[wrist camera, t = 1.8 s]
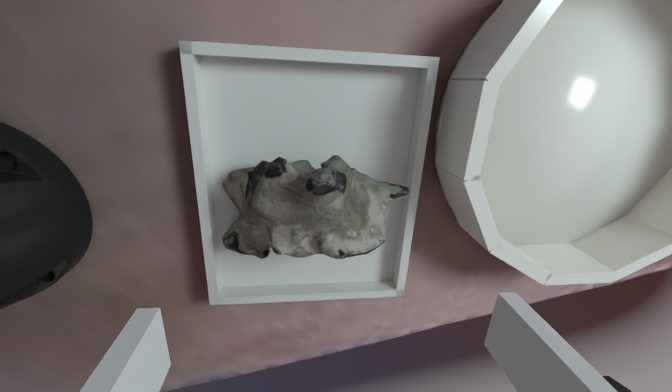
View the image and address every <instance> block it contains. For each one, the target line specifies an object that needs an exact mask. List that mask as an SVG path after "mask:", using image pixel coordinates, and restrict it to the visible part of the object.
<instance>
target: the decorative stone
mask: <svg viewBox="0 0 672 392" xmlns="http://www.w3.org/2000/svg"><path fill="white" fill-rule="evenodd" d="M321 167H322V168H318V169H315V168H314V167H312V166H311V163H310V162H309V161H308V160H299V161H296V162H293V163H290V162H288V161H287V160H286V159H284V158H282V157H278V158H277V159H275V160H274V161H272V162H268V161H265V160H264V161H261V162H260V163H259V164H258V165H257V166H255V167H250V168H243V169H237V170H234V171H232V172H230V174H229V175H228V177H227V178H226V180H225V181H223V183H222V187H223V189H224V190H225V192H226V193H227V195H228V196H229V197H230V199H231V200H232V202H233V203H234V204H235V206H236V207H237V209H238V212H239V215H238V217H237V219H236V220H235V221H234V222H233V224H232V225H231V226H230V227H229V228H228V230H227V231H226V232H225V234H224V235H223V237H222V241H223V244H224V246H225V248H226V249H229V250H231V251H235V252H238V253H240V254H244V255H254V256H256V257H258V258H260V259H264V258H266V257H267V256H268V255H269V252H270V248H271V247H272V250H273V252H274V253H276V254H279V255H282V254H285V255H289V256H292V257H297V258H303V257H308V256H311V255H314V254H324V255H327V256H329V257H331V258H334V259H345V258H347V257H354V256H358V255H365V254H369V253H370V252H372V251H373V250H375V249H376V248H378V247H379V246H380V245H382V244H383V243H385V239H384V233H385V224H386V219H385V212H386V209H387V207H388V205H389V204H390V202H391V201H393V200H394V199H396V198H398V197H401V196H404V195H407V194H409V193H410V189H409V187H405V186H402V185H397V184H391V183H386V182H381V181H376V180H374V179H372V178H370V177H369V176H368V175H366V174H363V173H360V172H359V171H358V170H357V169H356V168H350V166H349V165H348V164H347V163H346V162H345V161H344V160H343V159H342V158H341V157H340V156H338V155H333V156H331V157H330V158H329V159H328V160H327V161H325V162H323V163H321Z"/></svg>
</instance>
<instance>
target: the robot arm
mask: <svg viewBox="0 0 672 392" xmlns="http://www.w3.org/2000/svg"><path fill="white" fill-rule="evenodd" d="M91 235H92V215H91V210H90V206H89V203H88V200H87V197H86V195H85V193H84V191H83V189H82V187H81V185H80V184H79V182H78V181H77V179H76V177H75V176H74V175H73V173H72V172H71V171H70V170H69V169H68V167H67V166H66V165H65V164H64V163H63V162H62V161H61V160H60V159H59V158H58V157H57V156H56V155H55V154H54V153H53V152H51V151H50V150H49V149H48V148H46V147H45V146H44V145H42V144H41V143H39V142H38V141H37V140H35V139H33V138H32V137H30V136H28V135H27V134H25V133H23V132H21V131H19V130H17V129H15V128H13V127H11V126H9V125H6V124H4V123H1V122H0V309H2V308H4V307H6V306H9V305H11V304H14V303H16V302H19V301H21V300H23V299H26V298H28V297H31V296H33V295H35V294H37V293H39V292H41V291H43V290H45V289H47V288H48V287H50V286H51V285H53V284H54V283H56V282H57V281H58V280H59V279H60V278H62V277H63V276H64V275H65V274H66V273H67V272H69V271H70V270H71V269H72V268H73V267H74V266H75V265H76V264H77V263H78V262H79V261H80V260H81V259H82V257H83V256H84V254H85V252H86V250H87V249H88V246H89V243H90V240H91ZM484 345H485V346H486V348H487V349H488V350H489V352H490V353H491V355H492V356H493V357H494V359H495V360H496V362H497V363H498V364H499V366H500V367H501V369H502V370H503V371H504V373H505V374H506V376H507V377H508V379H509V380H510V381H511V383H512V384H513V385H514V387H515V388H516V390H517V391H518V392H631V391H630V390H628V389H627V388H626V387H624V386H623V385H621V384H620V383H618V382H617V381H615V380H614V379H612V378H611V377H609V376H601V375H600V374H599V373H598V372H597V371H596V370H595V369H594V368H593V367H592V366H591V365H590V364H589V363H588V362H587V361H585V359H584V358H583V357H582V356H580V355H579V354H578V353H577V352H576V351H575V350H574V349H573V348H572V347H571V346H570V345H569V344H568V343H567V342H566V341H565V340H564V339H563V338H562V337H561V336H560V335H559V334H558V333H557V332H556V331H555V330H554V329H553V328H552V327H551V326H550V325H549V324H548V323H547V322H546V321H544V320H543V319H542V318H541V317H540V316H539V315H538V314H537V313H536V312H535V311H534V310H533V309H532V308H531V307H530V306H529V305H528V304H527V303H526V302H525V301H524V300H523V299H522V298H521V297H520V296H519V295H518V294H517V293H516V292H510V293H498V297H497V300H496V304H495V307H494V311H493V314H492V318H491V321H490V325H489V329H488V332H487V336H486V339H485V343H484ZM170 366H171V363H170V358H169V353H168V348H167V342H166V337H165V332H164V326H163V321H162V316H161V310H160V308H139V309H136V311H135V312H134V314H133V315H132V316H131V318H130V319H129V321H128V322H127V324H126V325H125V327H124V328H123V330H122V331H121V332H120V334H119V335H118V337H117V338H116V340H115V341H114V343H113V344H112V346H111V347H110V348H109V350H108V351H107V353H106V354H105V356H104V357H103V359H102V360H101V361H100V363H99V364H98V366H97V367H96V369H95V370H94V372H93V373H92V375H91V376H90V377H89V379H88V380H87V382H86V383H85V385H84V386H83V388H82V389H81V390H80V392H159V391H160V389H161V386H162V384H163V382H164V379H165V377H166V375H167V372H168V370H169V368H170Z"/></svg>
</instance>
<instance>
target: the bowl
mask: <svg viewBox="0 0 672 392" xmlns="http://www.w3.org/2000/svg"><path fill="white" fill-rule="evenodd" d="M435 163H436V165H435V166H436V169H437V175H438V179H439V182H440V185H441V189H442V192H443V194H444V196H445V198H446V200H447V202H448V204H449V206H450V208H451V209H452V211H453V212H454V214H455V216H456V219H457V222H458V224H459V225H460V227H461V228H463V229H464V230H465V231H466V232H467V233H468V234H469V235H470V236H472V237H473V238H474V239H475V240H476V241H477V242H478V243H479V244H480V245H482V246H483V247H484V248H485V249H486V250H487V251H488V252H489V253H491V254H492V255H494V256H496V257H497V258H499V259H501V260H502V261H504V262H506V263H507V264H509V265H511V266H512V267H514V268H516V269H517V270H519V271H521V272H522V273H524V274H526V275H527V276H529V277H531V278H532V279H534V280H536V281H537V282H539V283H541V284H542V285H563V284H586V283H609V282H612V281H613V282H615V281H617V280H619V279H621V278H623V277H625V276H627V275H629V274H631V273H633V272H635V271H637V270H639V269H641V268H644V267H646V266H648V265H650V264H652V263H654V262H656V261H658V260H660V259H662V258H664V257H666V256H668V255H670V254H672V0H503V2H502V3H501V5H500V6H499V7H498V8H497V9H496V10H495V11H494V12H493V13H492V14H491V15H490V16H489V17H488V18H487V19H486V20H485V21H484V23H483V24H482V25H481V27H480V28H479V29H478V30H477V32H476V33H475V34H474V36H473V37H472V38H471V40H470V41H469V43H468V44H467V46H466V48H465V49H464V51H463V53H462V54H461V56H460V57H459V59H458V61H457V63H456V65H455V67H454V69H453V72H452V74H451V76H450V78H449V80H448V83H447V86H446V89H445V91H444V94H443V97H442V100H441V104H440V108H439V113H438V117H437V122H436V132H435Z"/></svg>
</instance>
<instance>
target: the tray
mask: <svg viewBox="0 0 672 392" xmlns="http://www.w3.org/2000/svg"><path fill="white" fill-rule="evenodd" d="M178 41H179V49H180V58H181V66H182V75H183V83H184V91H185V100H186V108H187V117H188V125H189V134H190V142H191V150H192V159H193V167H194V176H195V184H196V193H197V201H198V209H199V218H200V226H201V235H202V243H203V252H204V260H205V269H206V277H207V285H208V294H209V302H210V305H227V304H248V303H270V302H292V301H313V300H335V299H357V298H379V297H400V296H403V295H404V289H405V282H406V276H407V269H408V263H409V256H410V250H411V243H412V236H413V230H414V223H415V217H416V210H417V204H418V197H419V191H420V184H421V178H422V171H423V164H424V158H425V151H426V145H427V138H428V132H429V125H430V119H431V112H432V105H433V99H434V92H435V86H436V79H437V73H438V66H439V60H440V57H429V56H413V55H398V54H382V53H367V52H351V51H336V50H320V49H305V48H289V47H274V46H258V45H243V44H227V43H212V42H196V41H181V40H178ZM333 155H338V156H340V157H341V158H342V159H343V160H344V161H345V162H346V163H347V164H348V165H349V166H350V168H356V169H357V170H358V171H359V172H360V173H363V174H366V175H368V176H369V177H370V178H372V179H374V180H376V181H381V182H386V183H391V184H397V185H402V186H405V187H409V189H410V193H409V194H407V195H404V196H401V197H398V198H396V199H394V200H393V201H391V202H390V204H389V205H388V207H387V209H386V212H385V219H386V224H385V233H384V239H385V243H383V244H382V245H380V246H379V247H378V248H376V249H375V250H373V251H372V252H370V253H369V254H365V255H358V256H354V257H347V258H345V259H334V258H331V257H329V256H327V255H324V254H314V255H311V256H308V257H303V258H297V257H292V256H289V255H285V254H282V255H279V254H276V253H274V252H273V250H272V247H271V248H270V252H269V255H268V256H267V257H266V258H264V259H260V258H258V257H256V256H254V255H244V254H240V253H238V252H235V251H231V250H229V249H226V248H225V246H224V244H223V241H222V237H223V235H224V234H225V232H226V231H227V230H228V228H229V227H230V226H231V225H232V224H233V222H234V221H235V220H236V219H237V217H238V215H239V212H238V209H237V207H236V206H235V204H234V203H233V202H232V200H231V199H230V197H229V196H228V195H227V193H226V192H225V190H224V189H223V187H222V183H223V181H225V180H226V178H227V177H228V175H229V174H230V172H232V171H234V170H237V169H243V168H250V167H255V166H257V165H258V164H259V163H260V162H261V161H264V160H265V161H268V162H272V161H274V160H275V159H277V158H278V157H282V158H284V159H286V160H287V161H288V162H290V163H293V162H296V161H299V160H308V161H309V162H310V163H311V166H312V167H314V168H315V169H318V168H322V167H321V163H323V162H325V161H327V160H328V159H329V158H330V157H331V156H333Z"/></svg>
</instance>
